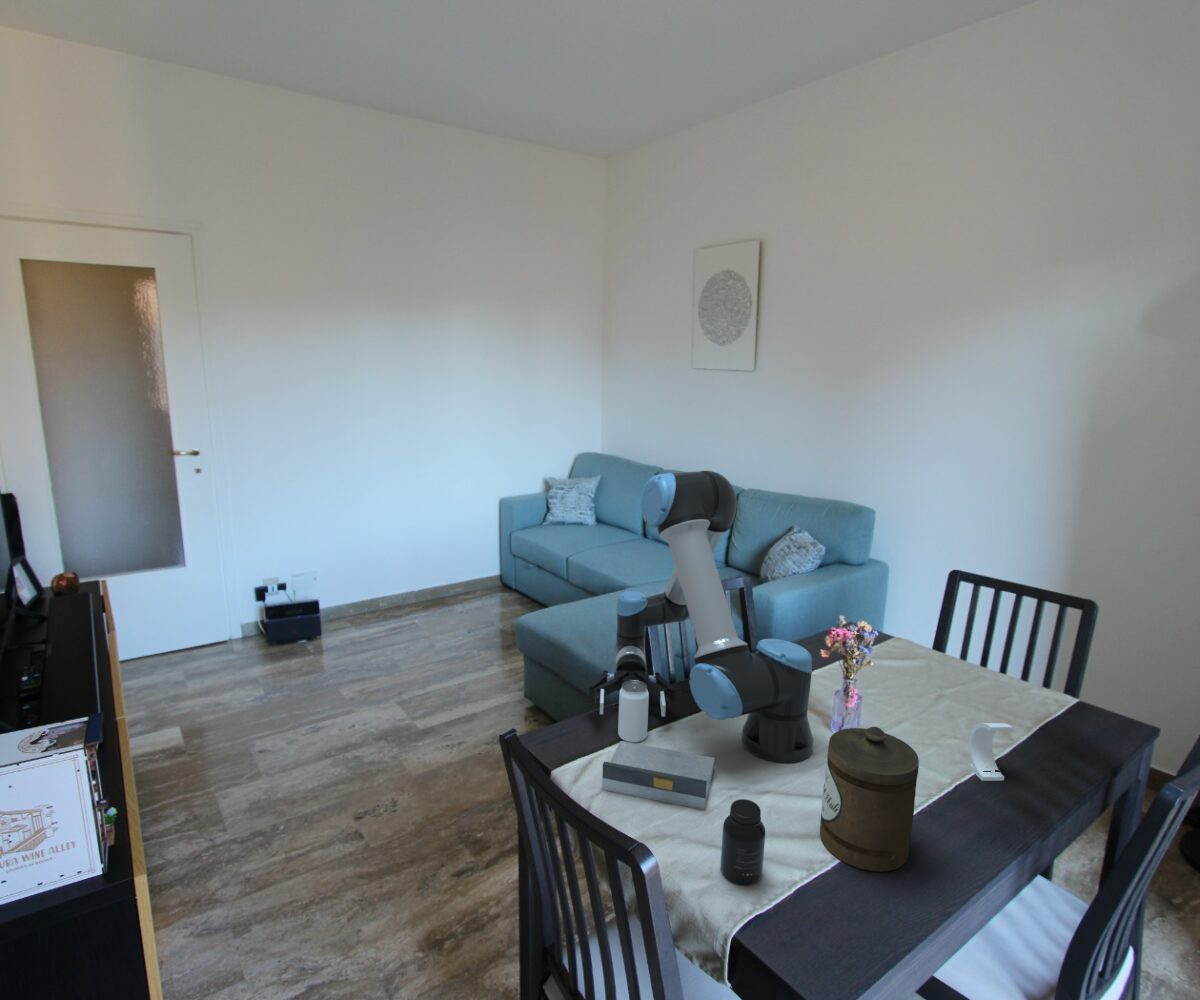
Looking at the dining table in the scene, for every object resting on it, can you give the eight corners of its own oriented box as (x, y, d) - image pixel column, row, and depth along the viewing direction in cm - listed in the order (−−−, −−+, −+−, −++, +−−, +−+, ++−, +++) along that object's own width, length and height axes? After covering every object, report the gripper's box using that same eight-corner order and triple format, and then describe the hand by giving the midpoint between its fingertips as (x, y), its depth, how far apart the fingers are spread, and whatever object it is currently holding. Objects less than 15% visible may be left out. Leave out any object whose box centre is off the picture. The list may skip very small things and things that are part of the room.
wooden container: (829, 805, 134) (840, 700, 129) (913, 833, 127) (928, 722, 122) (809, 851, 121) (821, 736, 117) (901, 885, 114) (918, 764, 110)
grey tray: (713, 768, 145) (715, 744, 144) (704, 811, 131) (705, 785, 130) (620, 751, 150) (621, 728, 149) (601, 790, 136) (602, 765, 135)
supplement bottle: (715, 857, 119) (720, 795, 117) (754, 856, 120) (760, 793, 117) (726, 888, 113) (730, 822, 110) (767, 886, 113) (773, 820, 111)
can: (647, 729, 159) (649, 680, 157) (646, 744, 153) (648, 694, 150) (619, 727, 160) (620, 678, 157) (616, 742, 154) (618, 691, 151)
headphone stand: (982, 780, 143) (990, 727, 141) (965, 763, 149) (973, 712, 146) (1003, 780, 143) (1012, 727, 141) (986, 763, 149) (994, 712, 147)
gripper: (680, 682, 175) (688, 727, 154) (580, 679, 176) (575, 723, 155) (681, 654, 173) (690, 696, 153) (581, 651, 174) (576, 692, 153)
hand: (632, 710), depth 154 cm, fingers open, 13 cm apart
